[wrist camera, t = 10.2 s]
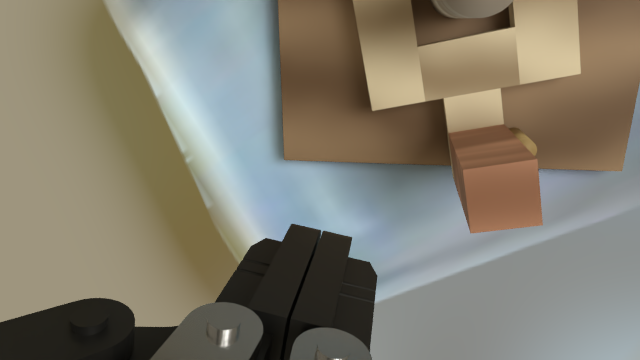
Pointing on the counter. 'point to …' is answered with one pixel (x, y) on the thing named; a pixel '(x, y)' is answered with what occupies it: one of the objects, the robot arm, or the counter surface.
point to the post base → (428, 117)
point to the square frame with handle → (474, 94)
